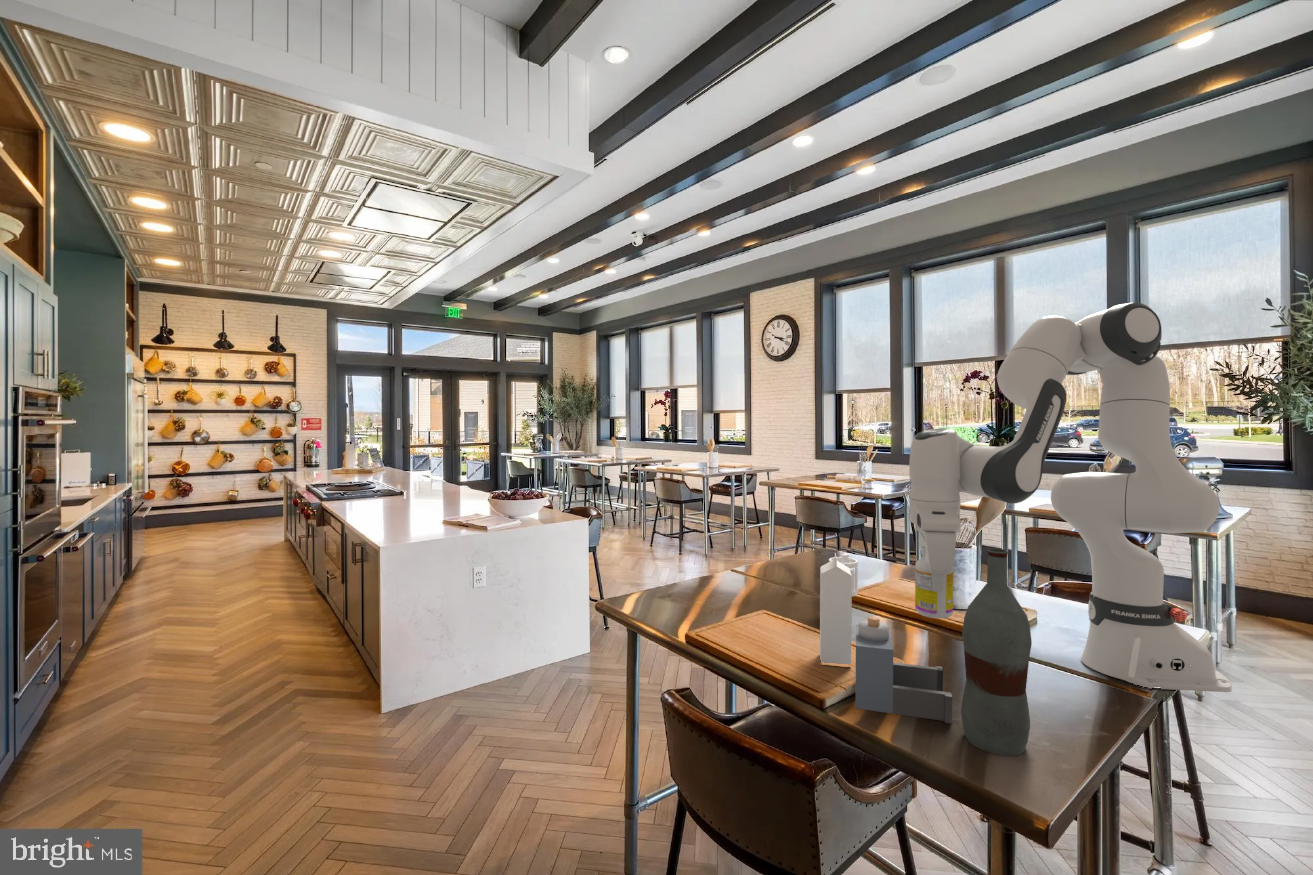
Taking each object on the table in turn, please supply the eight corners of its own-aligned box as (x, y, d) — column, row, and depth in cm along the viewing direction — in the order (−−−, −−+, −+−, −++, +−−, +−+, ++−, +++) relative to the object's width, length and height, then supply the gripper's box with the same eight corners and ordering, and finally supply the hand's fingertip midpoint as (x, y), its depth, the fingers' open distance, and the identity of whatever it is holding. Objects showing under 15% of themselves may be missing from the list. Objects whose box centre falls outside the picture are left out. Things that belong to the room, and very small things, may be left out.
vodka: (962, 749, 90) (965, 553, 88) (958, 721, 98) (961, 541, 97) (1035, 764, 86) (1039, 559, 85) (1024, 733, 94) (1028, 546, 93)
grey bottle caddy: (939, 683, 112) (940, 609, 111) (951, 723, 97) (952, 638, 97) (855, 673, 116) (856, 601, 116) (855, 709, 102) (856, 628, 101)
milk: (820, 665, 120) (820, 558, 119) (819, 654, 126) (819, 551, 125) (852, 668, 119) (851, 559, 118) (849, 656, 124) (849, 552, 124)
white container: (860, 612, 152) (860, 554, 152) (853, 620, 146) (854, 560, 146) (833, 607, 156) (833, 551, 156) (825, 615, 150) (825, 556, 150)
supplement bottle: (944, 607, 117) (945, 543, 116) (958, 620, 111) (960, 552, 110) (909, 607, 118) (910, 543, 117) (921, 619, 111) (922, 552, 110)
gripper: (911, 504, 124) (911, 569, 125) (922, 522, 105) (922, 599, 105) (944, 505, 122) (944, 571, 123) (961, 524, 103) (961, 602, 103)
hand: (934, 584), depth 114 cm, fingers closed on supplement bottle, 7 cm apart
